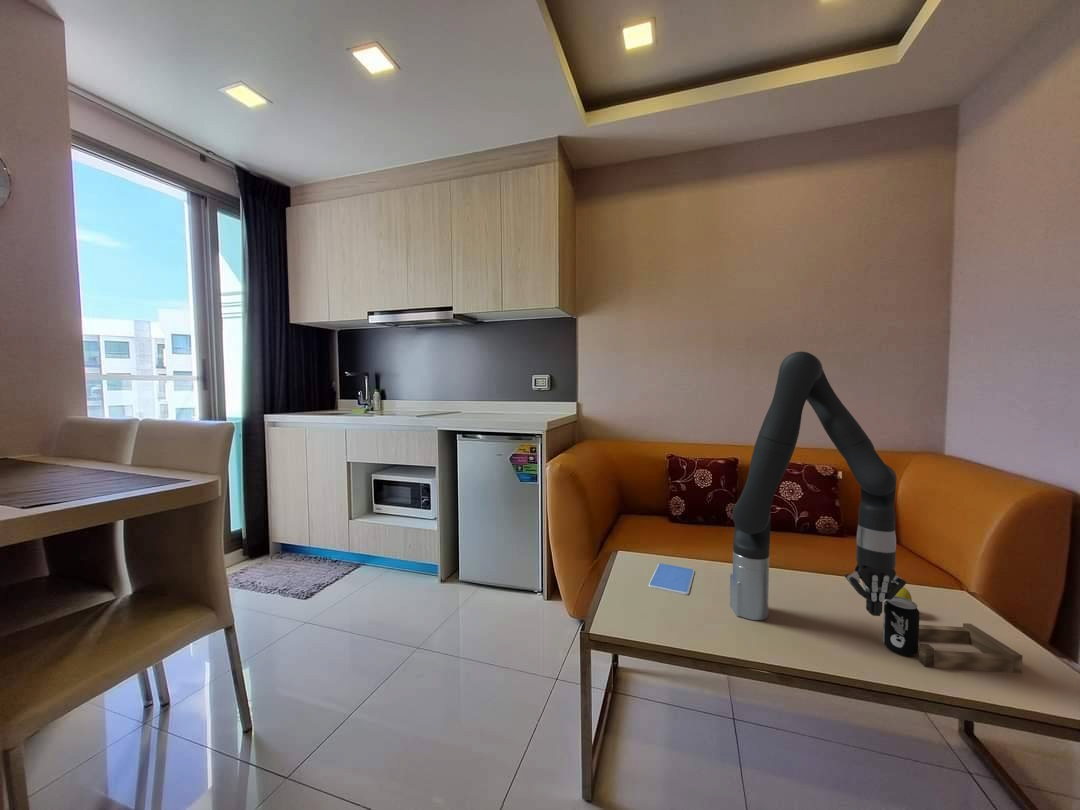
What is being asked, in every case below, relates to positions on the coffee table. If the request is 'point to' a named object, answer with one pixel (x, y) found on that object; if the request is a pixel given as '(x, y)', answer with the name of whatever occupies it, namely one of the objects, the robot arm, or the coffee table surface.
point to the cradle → (990, 660)
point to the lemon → (904, 594)
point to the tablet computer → (672, 579)
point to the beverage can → (901, 626)
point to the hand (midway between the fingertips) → (874, 614)
